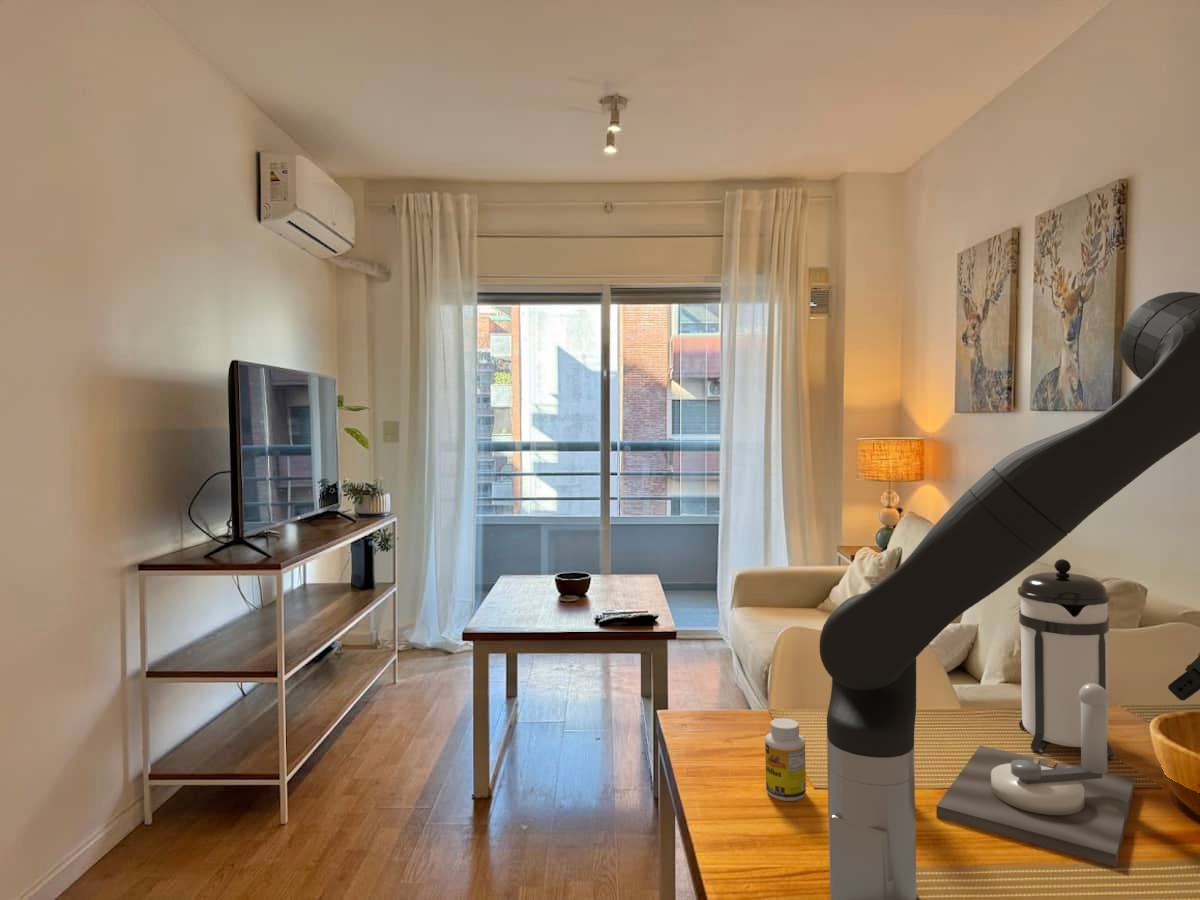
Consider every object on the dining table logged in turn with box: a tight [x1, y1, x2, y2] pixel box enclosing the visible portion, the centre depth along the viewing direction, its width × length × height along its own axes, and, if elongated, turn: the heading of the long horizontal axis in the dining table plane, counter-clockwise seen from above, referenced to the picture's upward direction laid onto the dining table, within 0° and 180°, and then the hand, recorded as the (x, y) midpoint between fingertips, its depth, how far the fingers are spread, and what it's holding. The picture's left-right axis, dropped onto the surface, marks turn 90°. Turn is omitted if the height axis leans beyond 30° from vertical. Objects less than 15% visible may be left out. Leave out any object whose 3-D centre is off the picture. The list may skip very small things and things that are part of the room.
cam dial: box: [991, 683, 1109, 815], centre depth 105 cm, size 16×11×15 cm
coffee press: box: [1017, 558, 1115, 761], centre depth 126 cm, size 17×16×30 cm
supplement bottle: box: [764, 717, 807, 802], centre depth 110 cm, size 6×6×10 cm
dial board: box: [935, 745, 1135, 868], centre depth 106 cm, size 24×20×2 cm
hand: (1176, 692), depth 96 cm, fingers closed
